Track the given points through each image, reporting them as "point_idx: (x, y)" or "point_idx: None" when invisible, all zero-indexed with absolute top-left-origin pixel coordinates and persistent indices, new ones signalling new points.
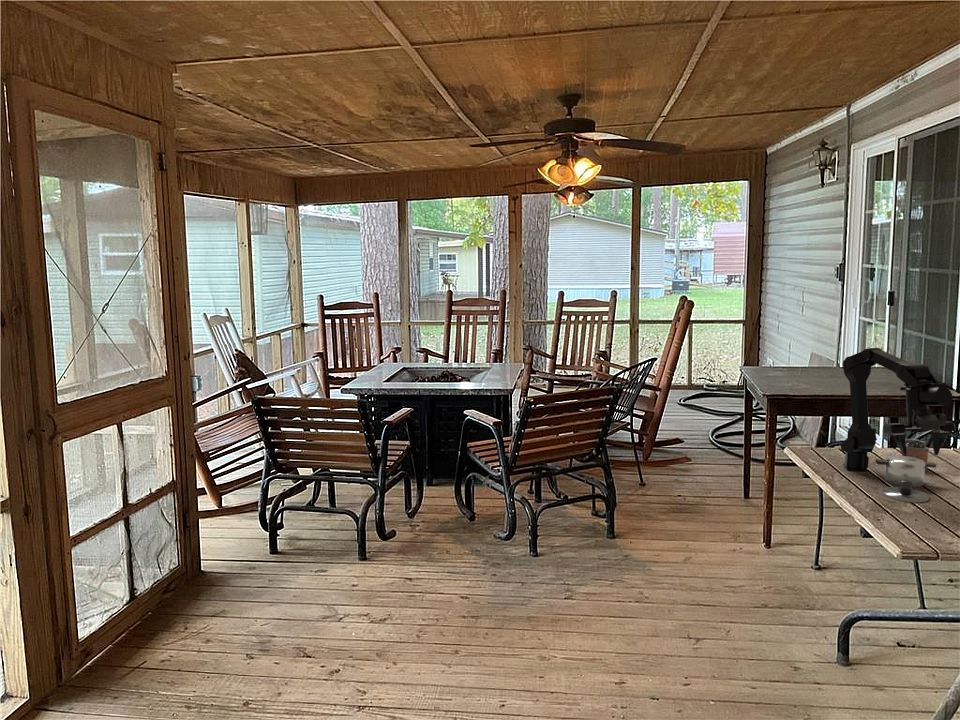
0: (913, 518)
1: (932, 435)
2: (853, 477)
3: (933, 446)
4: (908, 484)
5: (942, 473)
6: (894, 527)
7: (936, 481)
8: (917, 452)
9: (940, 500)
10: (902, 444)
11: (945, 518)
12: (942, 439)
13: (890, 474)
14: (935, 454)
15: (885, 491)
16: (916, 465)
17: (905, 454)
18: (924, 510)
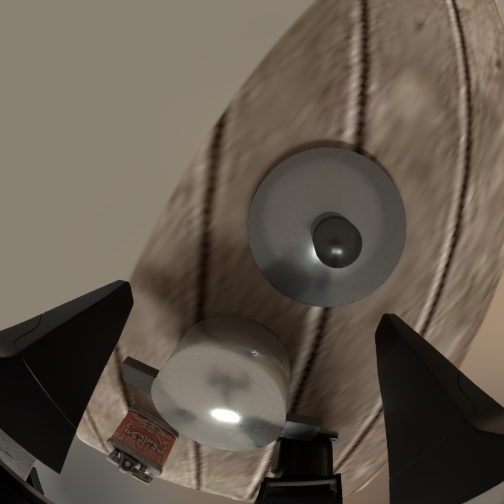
0: (421, 34)
1: (62, 443)
2: (366, 398)
3: (103, 359)
4: (343, 218)
5: (109, 378)
6: (477, 19)
7: (141, 341)
8: (135, 445)
9: (228, 166)
10: (467, 380)
11: (325, 13)
12: (2, 335)
13: (288, 377)
14: (130, 295)
15: (389, 261)
16: (206, 365)
17: (398, 319)
18: (355, 74)
